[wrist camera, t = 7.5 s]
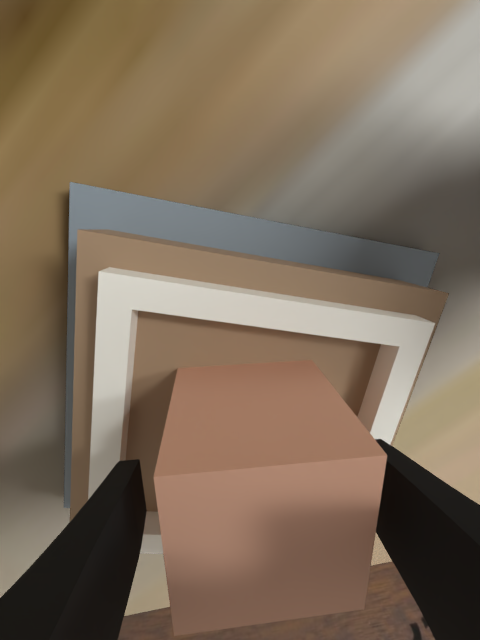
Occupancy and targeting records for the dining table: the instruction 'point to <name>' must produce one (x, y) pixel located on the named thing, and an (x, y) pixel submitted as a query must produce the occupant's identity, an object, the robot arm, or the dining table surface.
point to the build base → (224, 321)
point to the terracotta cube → (264, 497)
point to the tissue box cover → (312, 619)
